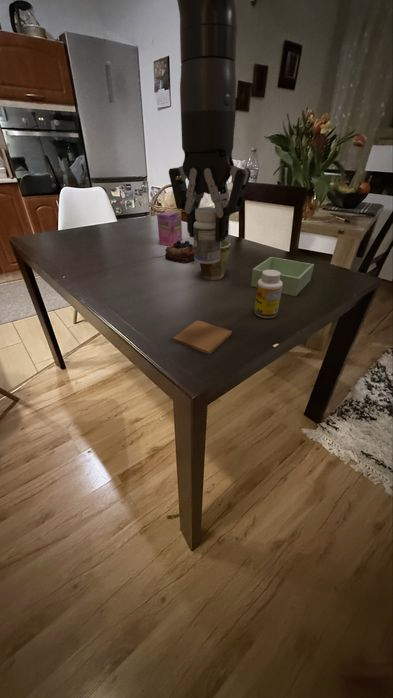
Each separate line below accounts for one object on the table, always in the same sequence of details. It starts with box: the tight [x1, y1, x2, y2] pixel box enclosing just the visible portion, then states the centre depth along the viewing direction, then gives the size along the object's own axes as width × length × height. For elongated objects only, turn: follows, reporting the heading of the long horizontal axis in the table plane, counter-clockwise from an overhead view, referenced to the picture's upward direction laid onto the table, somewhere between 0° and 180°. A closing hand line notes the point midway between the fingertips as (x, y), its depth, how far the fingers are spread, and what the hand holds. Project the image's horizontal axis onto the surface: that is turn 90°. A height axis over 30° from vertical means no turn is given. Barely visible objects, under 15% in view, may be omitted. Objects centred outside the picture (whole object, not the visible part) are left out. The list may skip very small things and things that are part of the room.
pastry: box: [164, 240, 196, 264], centre depth 102 cm, size 11×12×6 cm
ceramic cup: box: [199, 239, 231, 281], centre depth 87 cm, size 13×10×10 cm
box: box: [156, 209, 183, 247], centre depth 118 cm, size 10×6×12 cm, turn 155°
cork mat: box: [172, 319, 233, 356], centre depth 59 cm, size 9×9×1 cm
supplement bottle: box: [253, 270, 283, 319], centre depth 65 cm, size 6×6×10 cm
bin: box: [250, 256, 315, 297], centre depth 81 cm, size 13×13×5 cm
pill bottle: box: [193, 206, 221, 264], centre depth 49 cm, size 5×5×8 cm
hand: (207, 237), depth 49 cm, fingers closed on pill bottle, 4 cm apart
